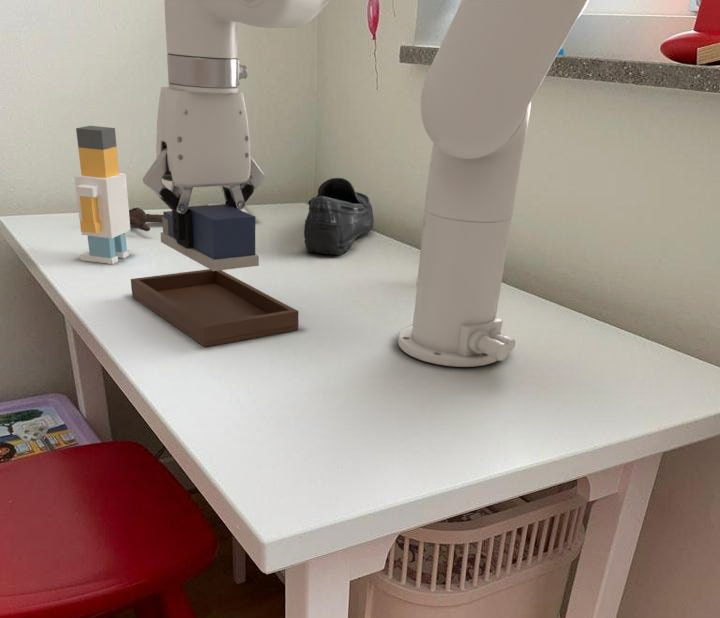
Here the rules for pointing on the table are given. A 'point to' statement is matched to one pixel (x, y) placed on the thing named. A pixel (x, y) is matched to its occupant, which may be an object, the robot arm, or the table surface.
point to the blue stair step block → (217, 237)
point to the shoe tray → (214, 306)
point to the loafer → (336, 218)
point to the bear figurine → (143, 218)
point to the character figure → (101, 195)
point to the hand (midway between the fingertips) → (208, 242)
